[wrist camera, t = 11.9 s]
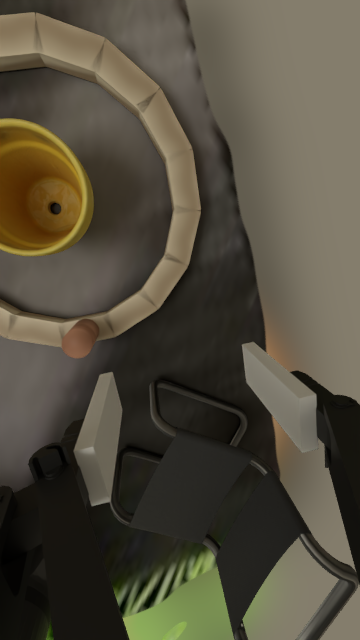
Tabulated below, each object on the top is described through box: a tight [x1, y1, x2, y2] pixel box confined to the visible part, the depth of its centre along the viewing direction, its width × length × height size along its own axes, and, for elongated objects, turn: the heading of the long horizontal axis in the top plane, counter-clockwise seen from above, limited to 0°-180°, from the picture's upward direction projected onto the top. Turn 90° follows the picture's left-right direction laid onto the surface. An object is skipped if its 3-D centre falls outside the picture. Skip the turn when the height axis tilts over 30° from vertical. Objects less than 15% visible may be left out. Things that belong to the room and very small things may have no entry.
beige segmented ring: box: [0, 12, 201, 358], centre depth 27 cm, size 32×32×7 cm
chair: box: [110, 380, 359, 640], centre depth 30 cm, size 13×17×22 cm
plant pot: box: [0, 119, 94, 256], centre depth 26 cm, size 10×10×10 cm
